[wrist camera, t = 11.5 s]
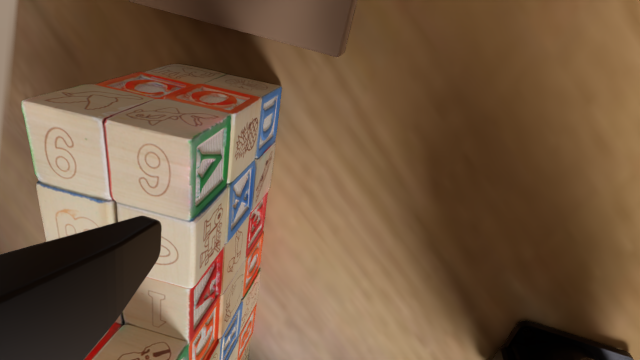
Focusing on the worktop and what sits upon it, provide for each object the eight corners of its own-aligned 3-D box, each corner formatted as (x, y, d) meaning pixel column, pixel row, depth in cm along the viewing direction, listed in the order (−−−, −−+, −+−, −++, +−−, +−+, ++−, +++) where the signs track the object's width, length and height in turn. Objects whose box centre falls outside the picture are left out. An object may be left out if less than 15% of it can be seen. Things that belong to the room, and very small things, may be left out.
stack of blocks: (173, 59, 21) (-92, 119, 10) (285, 83, 20) (135, 178, 9) (174, 339, 30) (39, 531, 19) (250, 362, 29) (155, 575, 18)
